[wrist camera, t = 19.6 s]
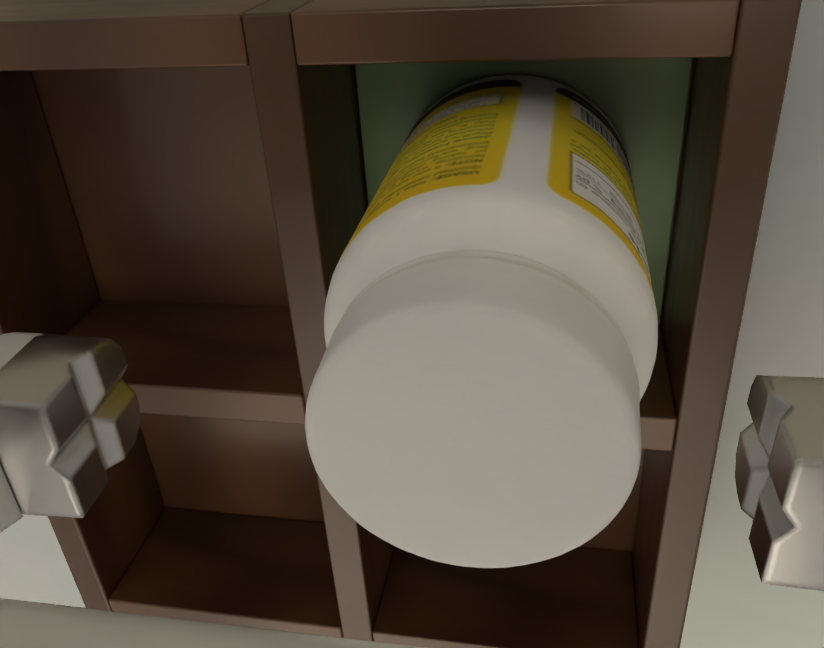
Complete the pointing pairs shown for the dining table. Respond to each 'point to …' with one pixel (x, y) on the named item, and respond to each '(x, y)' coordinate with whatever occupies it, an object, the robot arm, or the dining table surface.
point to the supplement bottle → (490, 333)
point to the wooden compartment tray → (312, 272)
